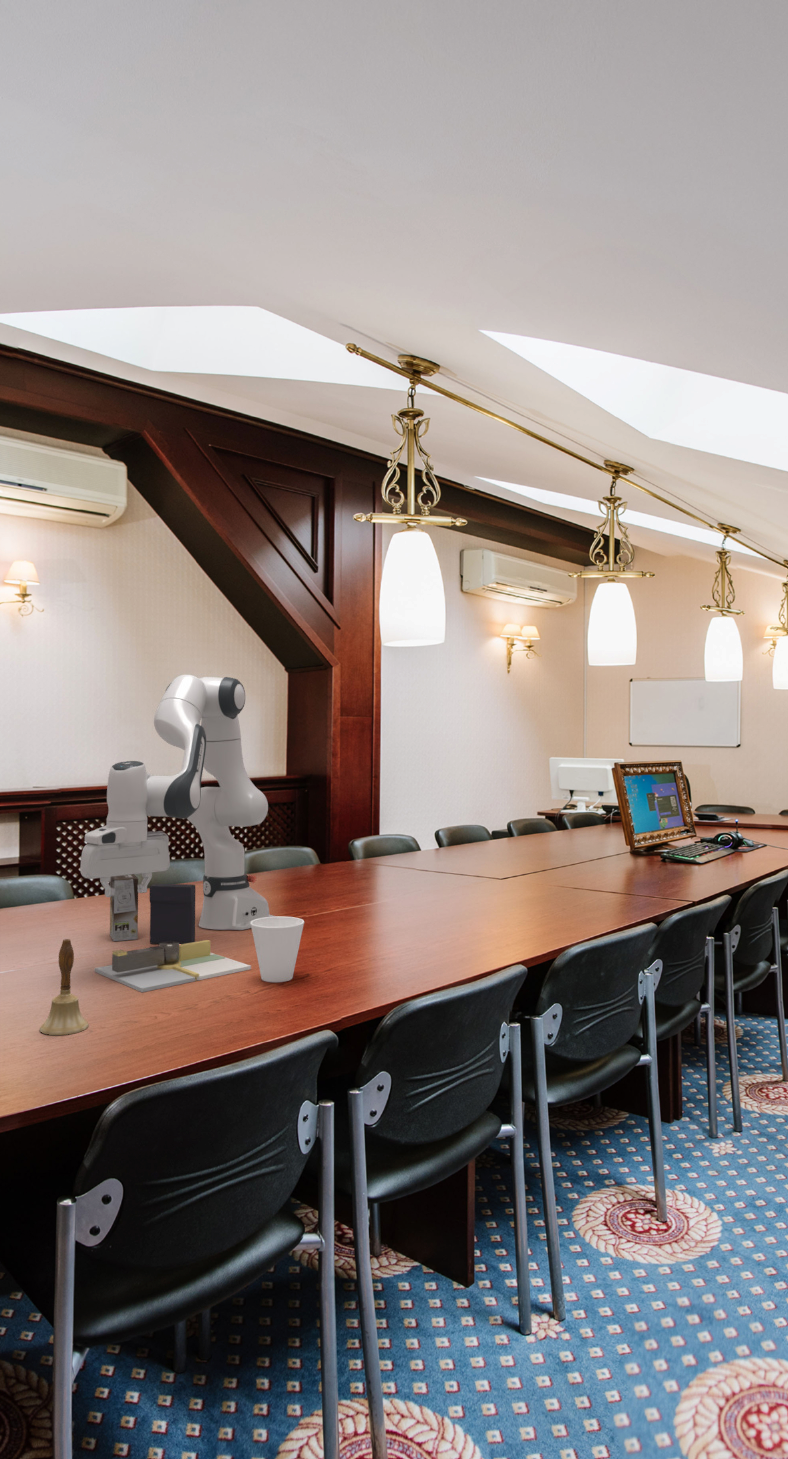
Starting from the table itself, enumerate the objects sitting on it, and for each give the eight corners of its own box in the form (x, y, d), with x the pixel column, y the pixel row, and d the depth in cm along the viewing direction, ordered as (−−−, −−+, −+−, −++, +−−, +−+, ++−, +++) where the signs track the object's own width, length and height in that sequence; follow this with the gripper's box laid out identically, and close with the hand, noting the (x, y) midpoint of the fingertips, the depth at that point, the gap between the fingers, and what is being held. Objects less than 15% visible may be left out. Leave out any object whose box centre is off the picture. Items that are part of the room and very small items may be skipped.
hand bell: (94, 1020, 161) (95, 934, 161) (80, 1035, 153) (81, 945, 153) (49, 1021, 161) (50, 934, 161) (32, 1036, 152) (33, 945, 153)
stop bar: (172, 957, 200) (173, 940, 200) (182, 961, 197) (182, 943, 197) (110, 969, 189) (110, 950, 189) (119, 973, 186) (120, 954, 186)
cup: (294, 987, 184) (294, 928, 184) (241, 983, 186) (241, 925, 186) (310, 972, 195) (311, 917, 195) (260, 969, 198) (261, 915, 198)
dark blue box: (196, 942, 225) (196, 884, 225) (190, 945, 220) (191, 886, 221) (155, 940, 226) (155, 883, 226) (148, 944, 221) (149, 885, 222)
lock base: (199, 952, 214) (199, 934, 214) (250, 969, 198) (251, 949, 198) (94, 971, 195) (94, 952, 195) (141, 992, 179) (142, 971, 179)
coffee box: (138, 939, 227) (139, 878, 227) (113, 942, 224) (113, 879, 224) (133, 932, 235) (134, 873, 235) (108, 934, 232) (109, 874, 233)
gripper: (161, 829, 205) (161, 887, 205) (77, 835, 191) (76, 898, 191) (175, 831, 201) (174, 891, 200) (90, 837, 187) (89, 901, 186)
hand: (126, 894), depth 196 cm, fingers open, 6 cm apart
